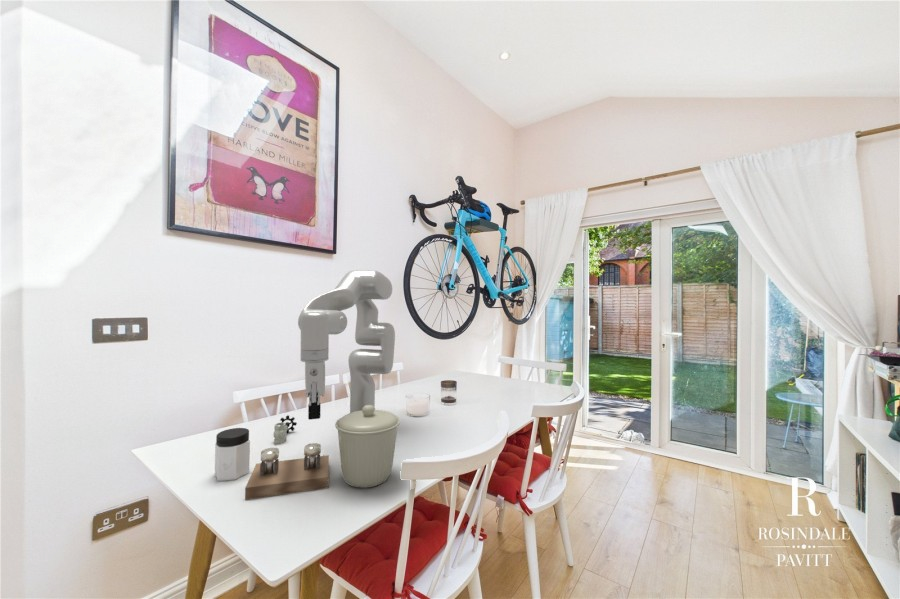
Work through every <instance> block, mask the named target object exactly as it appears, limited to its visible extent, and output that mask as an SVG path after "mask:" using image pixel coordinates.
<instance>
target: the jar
mask: <svg viewBox="0 0 900 599" xmlns="http://www.w3.org/2000/svg"><path fill="white" fill-rule="evenodd" d="M215 438H216V441H215V444H214V445H215V446H214V448H215V450H214V451H215V452H214V454H215V455H214V456H215V457H214V476H215V478H216V480H217V481H218V482H224V481H226V482H227V481H234V480H235V481H236V480H238V479H239V478H241V477H243V476H245V475H247V474H248V473H249V472H250V459H251V458H250V454H251V453H250V452H251V450H250V449H251V448H250V447H251V446H250V445H251V441H250V430H249V429H248V428H245V427H235V428H229V429H225V430H222V431H220V432H218V433H217V434H216V437H215Z"/></svg>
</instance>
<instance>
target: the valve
mask: <svg viewBox="0 0 900 599" xmlns="http://www.w3.org/2000/svg"><path fill="white" fill-rule="evenodd" d="M295 419H296V418H295V417H294V416H292V417H290V415H286V416H285V418H284V417H280V419H279V422H278V423H277V422H276V423H275V424H274V431H273V438H274V439H273V444H274V445H282V444H285V443H286V441H287V440H286V439H287V435H288V433H290V431H291V432H293V431H295V426H297V424H298V423H297V422H295ZM289 421H290V422H289Z"/></svg>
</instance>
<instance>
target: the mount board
mask: <svg viewBox="0 0 900 599" xmlns="http://www.w3.org/2000/svg"><path fill="white" fill-rule="evenodd" d="M308 462H309V457H307V456H305V455H304V457H303V458H302V457H301V458H293V459H286V460H280V459H279V458H278V459H276V460H274V472H273V473H272V474H265V467H266V462H263V461H261V462H260V463H255V465H254V468H253V469H252V472H251V475H250V477H249V479H248V480H247V483H246V485H245V488H244V500H246V501H247V500H254V499H261V498H267V497H273V496H281V495H288V494H295V493H296V494H297V493H302V492H309V491H315V490H322V489H329V486H330V485H329V480H330V478H329V475H330V474H329V471H330V469H329V468H330V456H329V455H327V454H326V455H321V453H320V454H319V455H317V456H316V468H314V469H309V468H308Z"/></svg>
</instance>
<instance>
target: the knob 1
mask: <svg viewBox="0 0 900 599" xmlns="http://www.w3.org/2000/svg"><path fill="white" fill-rule="evenodd" d="M279 454H280V451H279V448H278V447H270V448H269V447H268V448H264V449H263V450H261V451H260V461H261V462H262V461H263V462H265V463H266V467H265V474H272V473H273V472H274V462H275V460H276V459H279V457H280V455H279Z"/></svg>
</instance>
